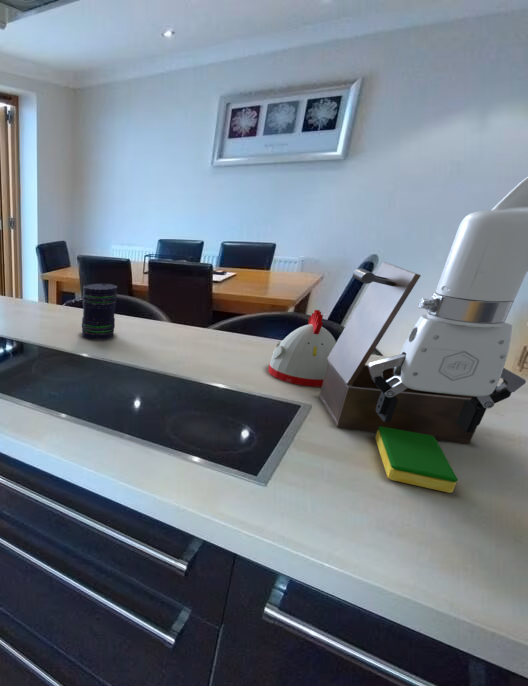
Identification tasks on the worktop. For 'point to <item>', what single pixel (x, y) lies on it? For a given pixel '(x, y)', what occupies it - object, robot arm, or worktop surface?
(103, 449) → the worktop surface
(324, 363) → the kitchen timer
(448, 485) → the dish sponge
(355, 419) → the chest
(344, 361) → the lid
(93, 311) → the black striped canister
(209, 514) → the worktop surface
